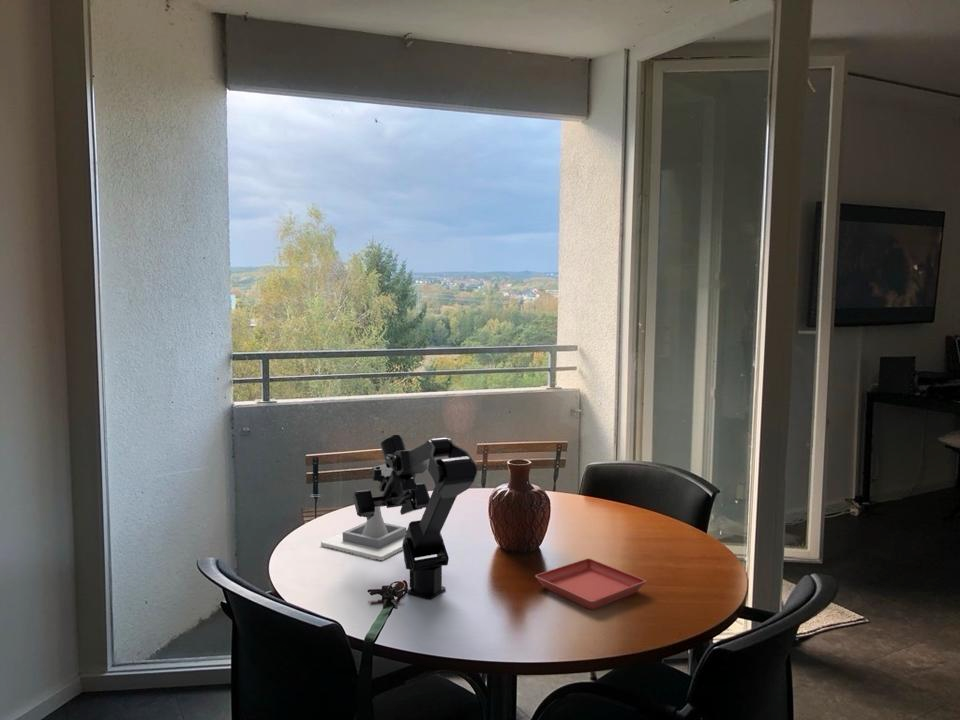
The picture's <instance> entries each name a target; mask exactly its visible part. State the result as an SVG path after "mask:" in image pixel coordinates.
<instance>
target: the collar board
mask: <svg viewBox="0 0 960 720" xmlns="http://www.w3.org/2000/svg"><path fill="white" fill-rule="evenodd" d="M365 524H366V522H363V523H360V524H358V525H356V526H354V527H352V528H349V529H347V530H344V531H343V532H341V533H339V534H337V535H334V536H332V537H329V538H327V539H325V540H323V541H321V542H320V546H321V547H323V546H324V548H327V547H329V549H331V548H334V549H333V550H336V549H338V550H337V551H340V550H342V551H341V552H344V551H347V552H346V553H348V552H351V553H350V554H352V553H355V554H354V555H356V554H359V555H358V556H360V555H362V556H361V557H364V556H366V557H365V558H368V557H370V558H369V559H372V558H374V559H373V560H376V559H378V560H377V561H380V560H382V561H384V560H386V559H388V558H390V557H391V555H392V556H394V555H396V554H398V553H399V552H402V551H403V548H402V545H403V540H404V538H405V535H406V534H407V533H406V530H407V529H408V528H407V527H406V526H401V525H396V524H391V523H387V522H384V524H385V526H386V529H387V531H388V534H386V535H384V536H382V537H380V538H374V537H369V536H365V535H362V532H363V530H364V527H365ZM397 552H398V553H397ZM395 553H396V554H395ZM393 554H394V555H393ZM389 556H390V557H389ZM387 557H388V558H387ZM385 558H386V559H385ZM383 559H384V560H383Z"/></svg>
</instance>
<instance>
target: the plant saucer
mask: <svg viewBox="0 0 960 720" xmlns="http://www.w3.org/2000/svg"><path fill="white" fill-rule="evenodd" d="M534 577H535V579H537V582H539V584H541V585H542V586H543V587H544V589H546V590H549V591H550V592H553V593H555V594H557V595H559V596H561V597H563V598H565V599H567V600H570V601H572V602H573V603H575V604H578V605H580V606H582V607H584V608H587V609H589V610H595V609H597V608H600V607H602V606H604V605H607V604H611V603H613V602H615V601H617V600H620V599H623V598H625V597H628V596H631V595H633V594H635V593H636V592H638V590H640V589H641V588H642V587H643V585H645V584H646V582H647V581H646V579H643V578H641V577H638V576H636V575H633V574H631V573H628V572H626V571H623V570H621V569H618V568H616V567H613V566H611V565H608V564H606V563H603V562H600V561H597V560H595V559H592V558H584V559H581V560H578V561H575V562H572V563H569V564H566V565H562V566H559V567H557V568H554V569H550V570H546V571H544V572H540V573H538V574H535V576H534Z"/></svg>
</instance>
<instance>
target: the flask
mask: <svg viewBox="0 0 960 720" xmlns="http://www.w3.org/2000/svg"><path fill="white" fill-rule="evenodd" d="M379 504H380V503H379ZM365 523H366V524H365V527H364V530H363V532H362V535H365V536H369V537H374V538H380V537H382V536H384V535H386V534H388V531H387V529H386V526H385V524H384V523H385V522H384V517H383V516H382V511H381V507H376V508H375V512H374V516H373V517H372V518H370V519H369V520H367V519H366V521H365Z"/></svg>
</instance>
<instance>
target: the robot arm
mask: <svg viewBox="0 0 960 720" xmlns="http://www.w3.org/2000/svg"><path fill="white" fill-rule="evenodd" d="M404 441H405V440H404V438H403V437H401V435H400V434H397V433H396V434H392V435H391V436H390V437H388V438H385V439H383V441H381V442H380V449H381V451H382V455H383V458H384V462H385V463H383V464H378V465H376V466H373V467H372V468H371V471H370V477H371V479H372V481H374V482H379V483H380V484H379V487H378V488H379V491H380V492H382V493H381V496H377V497H376V496H375V497H373V494H372V490H371V489H362V490H355V492H354V493H353V496H352V499H353V503H354V507H355V511H356V515H357V516H358V517H360V518H362V517H363V518H366V521H367V520H369V519H370V518H372V517H373V516H374V512H375V508H376V507H380V508H381V507H383V508H384V507H386V508H387V509H390V508H397V507H401V508H400V511H399V512H400V515H401V516H403V515H407V514H409V513H412V512H415V511H418V510H422V509H425V510H424V512H423V515H422V517H421V519H419V520H413V521H410V522H409V524H408V526H407V528H406V529H407V530H406V533H407V534H406V535H405V538H404V540H403V545H402V548H403V550H402V551H403V552H402V553H403V559H404V560H403V561H404V564H405V569H406V570H409V589H407V590H406V594H408V595H412V596H415V597H420V598H423V599H426V600H432V599H433V598H435V597H437V596H439V595H440V594H442V592H445V591H446V589H447V588H446V586H443V579H442V578H443V576H442V575H443V572H442V570H443V569H442V568H443V566H448V565H449V561H450V560H449V558H450V557H449V554H448V552H447V551H448V550H447V549H446V545H445V542H444V539H443V536H442V533H441V531H442V530H443V527H444V525H445V523H446V521H447V518H448V516H449V514H450V512H451V510H452V508H453V505H454V503H455V501H456V499H457V496H459V495H460V494H462V493H463V492H466V491H467V490H469V489H470V487H471V486H472V485H473V483H474V481H475V479H476V477H477V473H478V470H477V465H476V463H475V461H474V460H473V458H472V457H471V455H470V454H469V452H468V451H466V450H465V449H464V448H462V447H459V446H458V445H456V444H455V443H454V442H453V441H452V439H451V438H448V437H440V438H439V437H438V438H430V439H428V440H426V441H425V442H424V443H422V444H420V445H419V446H417V447H415V448H413V449H407V447H406V445H405V442H404ZM426 470H427V471H428V473H429V475H430V476H431V478H432V480H433V482H434V488H433V490H432V493H431V494H429V491H428V488H427V485H426V484H425V483H423V482H417V483H416V477H417V475H418V474H423V473H424V472H426ZM379 503H380V504H379ZM435 555H436V556H435ZM428 556H430V557H428ZM423 557H426V558H423ZM417 558H420V559H417Z"/></svg>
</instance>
